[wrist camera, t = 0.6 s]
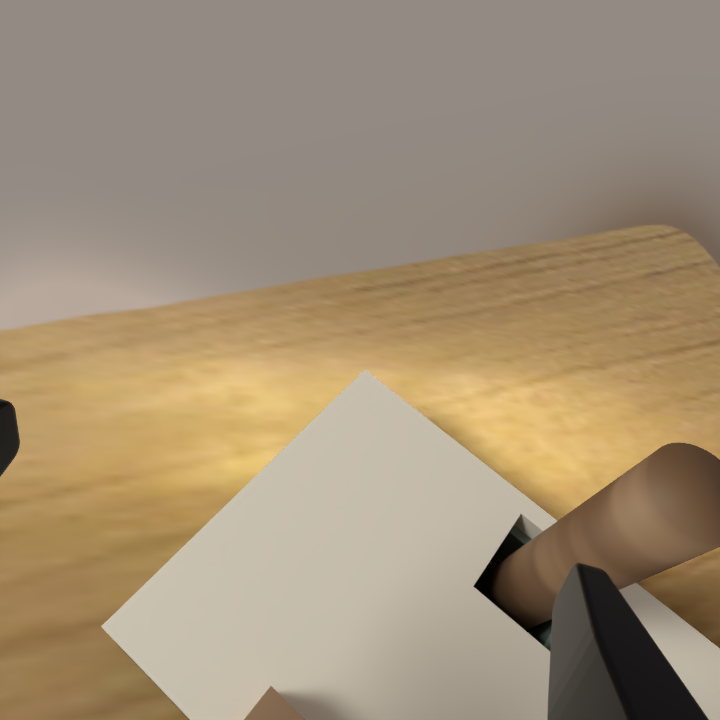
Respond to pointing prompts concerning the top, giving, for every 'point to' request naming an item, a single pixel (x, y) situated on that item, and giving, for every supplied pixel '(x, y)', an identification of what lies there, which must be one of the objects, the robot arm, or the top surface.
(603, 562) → the brown wooden peg
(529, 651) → the lid
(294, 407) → the top surface
